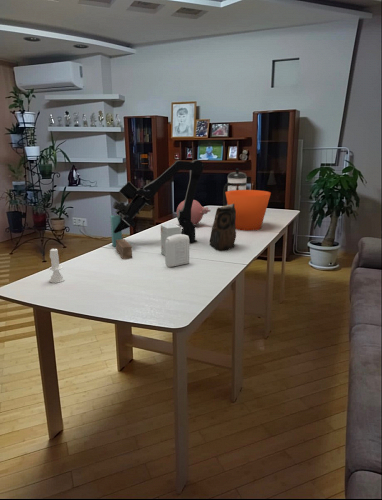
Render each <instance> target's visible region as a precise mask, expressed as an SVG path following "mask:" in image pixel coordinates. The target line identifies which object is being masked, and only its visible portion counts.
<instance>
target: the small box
mask: <svg viewBox="0 0 382 500" xmlns="http://www.w3.org/2000/svg"><path fill="white" fill-rule="evenodd" d="M181 231H182V227H181V226H180V225H179V224H178V225H177V224H175V223H166V224H160V251H161V252H160V253H161V254H162V255H163V256H165V240H166V238H168V237H170V236H172V235H176V234H181Z"/></svg>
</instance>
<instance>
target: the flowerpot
mask: <svg viewBox="0 0 382 500" xmlns="http://www.w3.org/2000/svg"><path fill="white" fill-rule="evenodd" d="M225 193H226V204H227V203H228V205H231V204H235V206H234V207H235V210H236V220H235V227H236V231H237V230H238V231H243V232H244V231H247V232H249V231H258V230H261V229H262V227H263V221H264V219H265V215H266V212H267V209H268V204H269V200H270V197H271V194H272V192H270V191H267V190H257V189H246V190H232V191H227V190H226V192H225Z"/></svg>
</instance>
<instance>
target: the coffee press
mask: <svg viewBox="0 0 382 500" xmlns="http://www.w3.org/2000/svg"><path fill="white" fill-rule="evenodd" d="M226 177H227V183H225V185H224V187H223V188H222V189H223V190H222V205H223V206H226V205H228V203H227V198H226V193H225V192H227V191H232V190H247V184H248V183H247V178H248V176H247V174H246V173H245V172H242V171H241V172H240V169H239V168H236V169H235V171H234V172H230V173H228V174H227V176H226Z"/></svg>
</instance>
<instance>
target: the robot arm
mask: <svg viewBox="0 0 382 500" xmlns="http://www.w3.org/2000/svg"><path fill="white" fill-rule="evenodd" d="M204 169H205V165H204V163H203V161H201V160H200V159H194V160H192V161H188V160H186V161H185V160H179V159H178V160H175V162H174V163H173V164H172V165H171V166H170V167H168V168H167V169H166V170H165V171H164V172H163V173H162V174H161V175H159V176H158V177H157V178H156V179H154V180H151V182H148V183H147V184H146V185H144V186H143V187H138V188H137V187H135V186H134V185H133V184H132V182H131V181H127V183H125V185H123V186H122V187H121V188H120V189H119V191H118V192H119V193H120V194H121V195H122V196H123V197H124V198H125V199H126V200H131V201H130V202H129V203H126V204H125V203H124V202H122V201H120V202H119V201H116V200H114V202H113V205H112V208H113V209H115V210H116V211H115V213H116V214H115V215H119V216H121V218H120V223H119V224H118V226H117V227H116V229H115V230H114V233H117V232H119V231H121V232H122V231H123V230H126V229H129V228H134V227H135V226H136V224H137V223H136V221H135V217H136V216H137V215H139V214H140V211H141V210H142V209H143V208H144V207H145V206H146V205H147V206H151V199H152V198H154V196H155V195H156V194H157V193H158V192H159V190H160V189H161V187H162V186H163V185H164V184H165V183H167V182H168V181H169V180H170V179H171V178H172V177H173V176H174V175H176V174H177V173H178V172H179V171H180V170H183V171H185V170H186V171H189V181H188V185H187V190H186V194H185V196H184V197H185V198H184V200H185V202H184V206H183V208H182V210H179V211H178V216H177V215H176V218H177V222H178V225H179V226H180V227H181V234H184V235H187V236H188V237H189V244H192V243H195V242H198V239H196V225H194V224H193V223H192V222H191V208H192V204H193V200H195V194H196V190H197V187H198V186H197V185H198V182H199V180H200V178H201V176H202V174H203V171H204Z"/></svg>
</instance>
